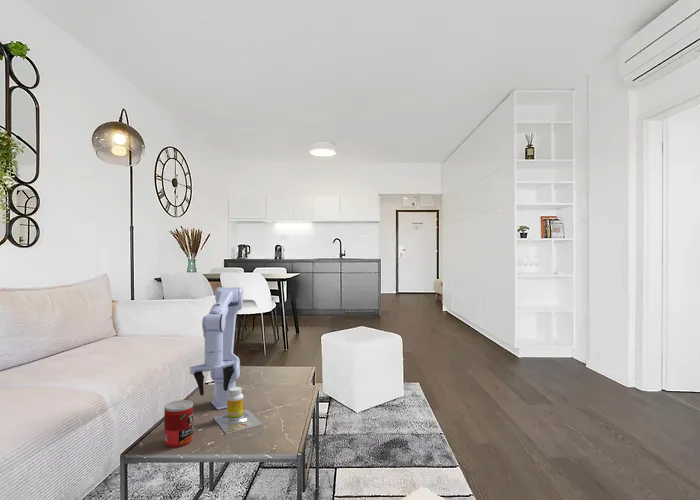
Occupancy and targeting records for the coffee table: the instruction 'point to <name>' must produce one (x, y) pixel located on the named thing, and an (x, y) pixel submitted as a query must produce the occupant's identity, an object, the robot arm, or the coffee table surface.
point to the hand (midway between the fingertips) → (213, 392)
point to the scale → (237, 422)
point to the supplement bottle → (235, 404)
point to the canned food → (178, 423)
